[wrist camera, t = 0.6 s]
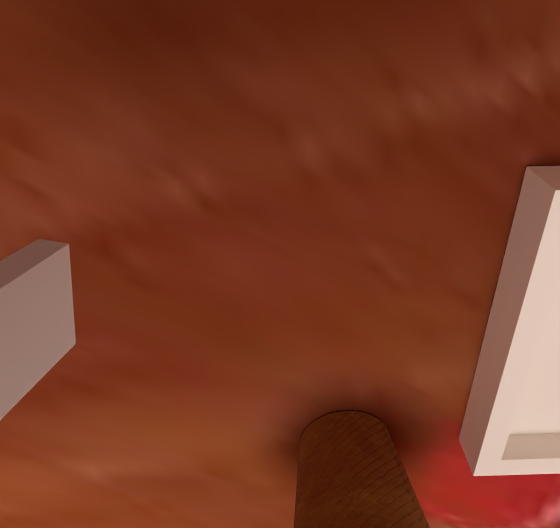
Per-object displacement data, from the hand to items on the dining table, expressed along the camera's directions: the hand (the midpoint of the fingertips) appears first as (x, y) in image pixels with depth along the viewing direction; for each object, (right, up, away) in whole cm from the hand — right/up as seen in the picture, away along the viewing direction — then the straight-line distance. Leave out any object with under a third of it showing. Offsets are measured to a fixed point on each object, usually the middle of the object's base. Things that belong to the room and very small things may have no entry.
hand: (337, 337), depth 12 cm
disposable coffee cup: (+3, -11, +25) cm, 27 cm away
